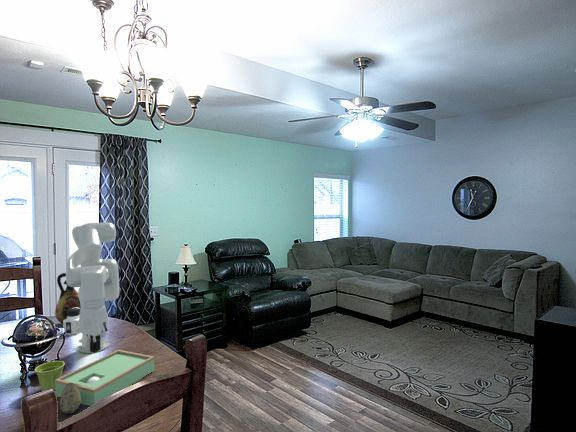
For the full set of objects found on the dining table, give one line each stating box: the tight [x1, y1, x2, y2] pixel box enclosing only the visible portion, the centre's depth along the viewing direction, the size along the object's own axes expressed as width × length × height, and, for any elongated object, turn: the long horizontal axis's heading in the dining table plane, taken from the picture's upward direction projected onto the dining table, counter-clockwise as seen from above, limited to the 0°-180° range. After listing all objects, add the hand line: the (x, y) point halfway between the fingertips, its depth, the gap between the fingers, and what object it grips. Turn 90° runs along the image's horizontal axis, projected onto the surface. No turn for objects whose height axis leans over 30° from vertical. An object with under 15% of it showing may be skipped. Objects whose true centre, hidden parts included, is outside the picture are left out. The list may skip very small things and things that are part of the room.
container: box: [62, 307, 81, 335], centre depth 195 cm, size 8×8×13 cm
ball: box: [87, 377, 100, 384], centre depth 132 cm, size 5×5×5 cm
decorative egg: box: [59, 383, 81, 415], centre depth 119 cm, size 6×6×10 cm
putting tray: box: [54, 349, 156, 407], centre depth 138 cm, size 20×28×6 cm
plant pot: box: [34, 360, 66, 392], centre depth 135 cm, size 9×9×9 cm
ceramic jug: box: [54, 272, 81, 327], centre depth 208 cm, size 17×15×30 cm
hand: (95, 351), depth 134 cm, fingers closed
